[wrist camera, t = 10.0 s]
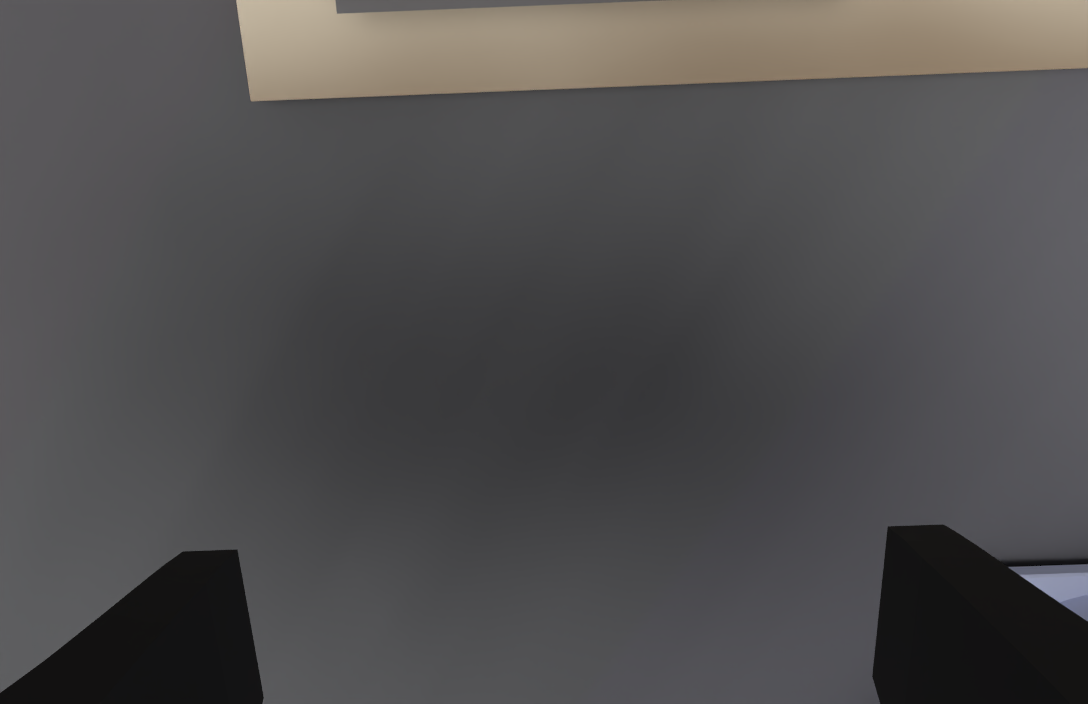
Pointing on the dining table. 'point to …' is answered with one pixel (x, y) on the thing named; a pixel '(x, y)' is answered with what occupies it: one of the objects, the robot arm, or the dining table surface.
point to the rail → (637, 42)
